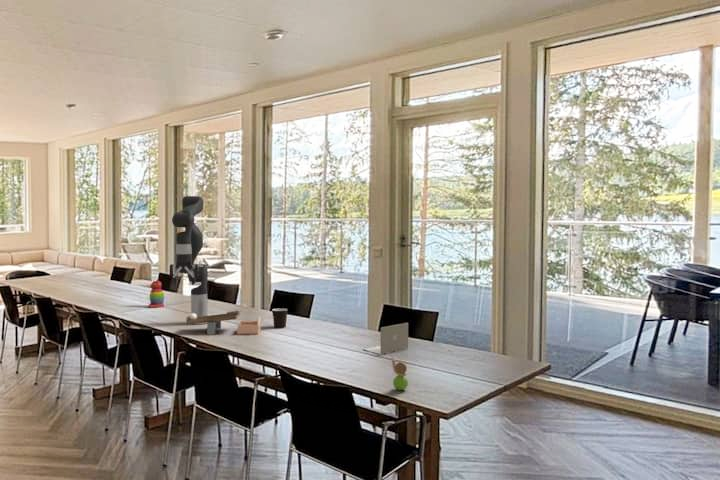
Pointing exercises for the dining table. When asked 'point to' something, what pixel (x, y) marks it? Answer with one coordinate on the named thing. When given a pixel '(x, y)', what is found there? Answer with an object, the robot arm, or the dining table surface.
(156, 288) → the stacking bear
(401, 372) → the snail figurine
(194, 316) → the ball
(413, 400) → the dining table surface
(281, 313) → the coffee mug
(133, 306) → the dining table surface
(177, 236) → the robot arm
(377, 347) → the laptop
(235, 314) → the lever
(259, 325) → the cup
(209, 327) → the lever stand
